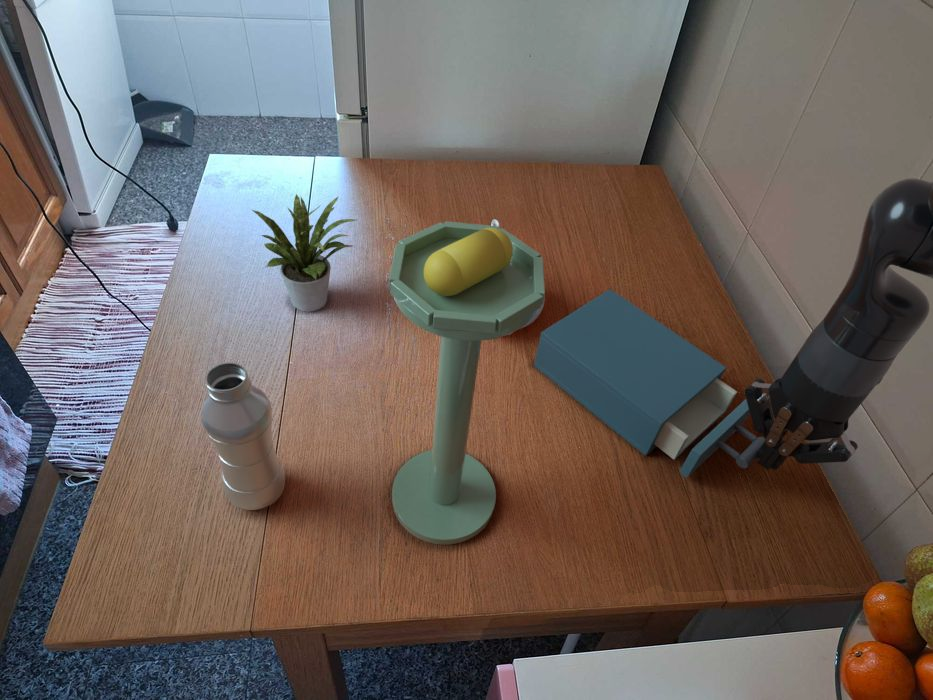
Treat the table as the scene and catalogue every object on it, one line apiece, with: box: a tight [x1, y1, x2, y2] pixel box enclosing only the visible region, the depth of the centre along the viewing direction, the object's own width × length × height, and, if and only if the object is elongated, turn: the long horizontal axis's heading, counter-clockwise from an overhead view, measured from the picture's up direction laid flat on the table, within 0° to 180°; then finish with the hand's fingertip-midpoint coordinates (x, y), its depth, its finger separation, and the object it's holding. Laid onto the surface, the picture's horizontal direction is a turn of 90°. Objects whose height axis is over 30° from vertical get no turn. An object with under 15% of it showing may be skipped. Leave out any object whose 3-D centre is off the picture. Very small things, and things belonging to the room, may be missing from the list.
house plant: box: [251, 193, 357, 313], centre depth 91 cm, size 14×14×16 cm
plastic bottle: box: [200, 362, 286, 511], centre depth 67 cm, size 6×7×20 cm
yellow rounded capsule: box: [424, 228, 513, 296], centre depth 50 cm, size 8×4×4 cm, turn 132°
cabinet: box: [533, 288, 727, 457], centre depth 88 cm, size 20×15×7 cm
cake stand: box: [388, 220, 546, 546], centre depth 63 cm, size 12×12×34 cm
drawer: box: [654, 378, 765, 479], centre depth 84 cm, size 23×14×5 cm, turn 42°
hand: (766, 463), depth 78 cm, fingers closed
